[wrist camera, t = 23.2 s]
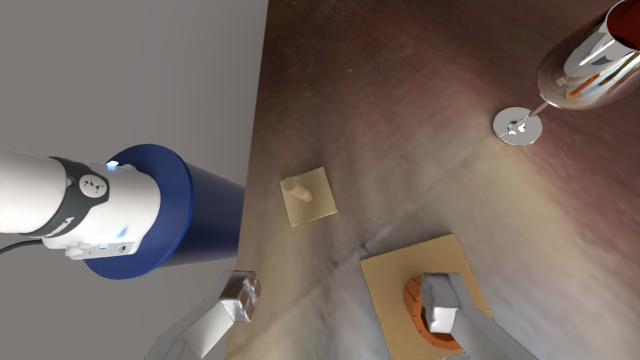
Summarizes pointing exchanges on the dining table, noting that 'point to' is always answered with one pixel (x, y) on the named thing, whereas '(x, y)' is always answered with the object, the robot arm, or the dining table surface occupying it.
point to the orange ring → (414, 309)
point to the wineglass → (582, 72)
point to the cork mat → (390, 279)
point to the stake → (308, 197)
